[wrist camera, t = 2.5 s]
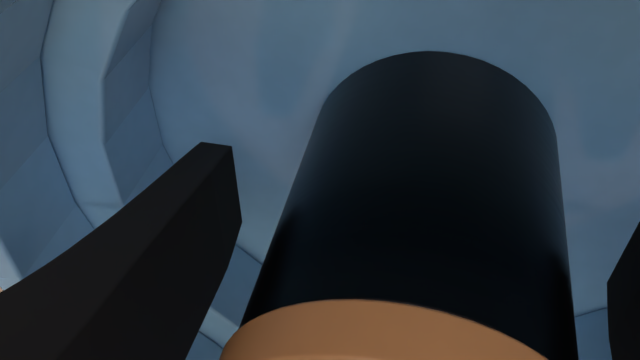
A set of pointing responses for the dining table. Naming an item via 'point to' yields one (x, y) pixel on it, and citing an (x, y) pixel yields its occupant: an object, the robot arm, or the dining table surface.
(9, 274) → the blue bowl
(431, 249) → the tea tin
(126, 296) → the robot arm
